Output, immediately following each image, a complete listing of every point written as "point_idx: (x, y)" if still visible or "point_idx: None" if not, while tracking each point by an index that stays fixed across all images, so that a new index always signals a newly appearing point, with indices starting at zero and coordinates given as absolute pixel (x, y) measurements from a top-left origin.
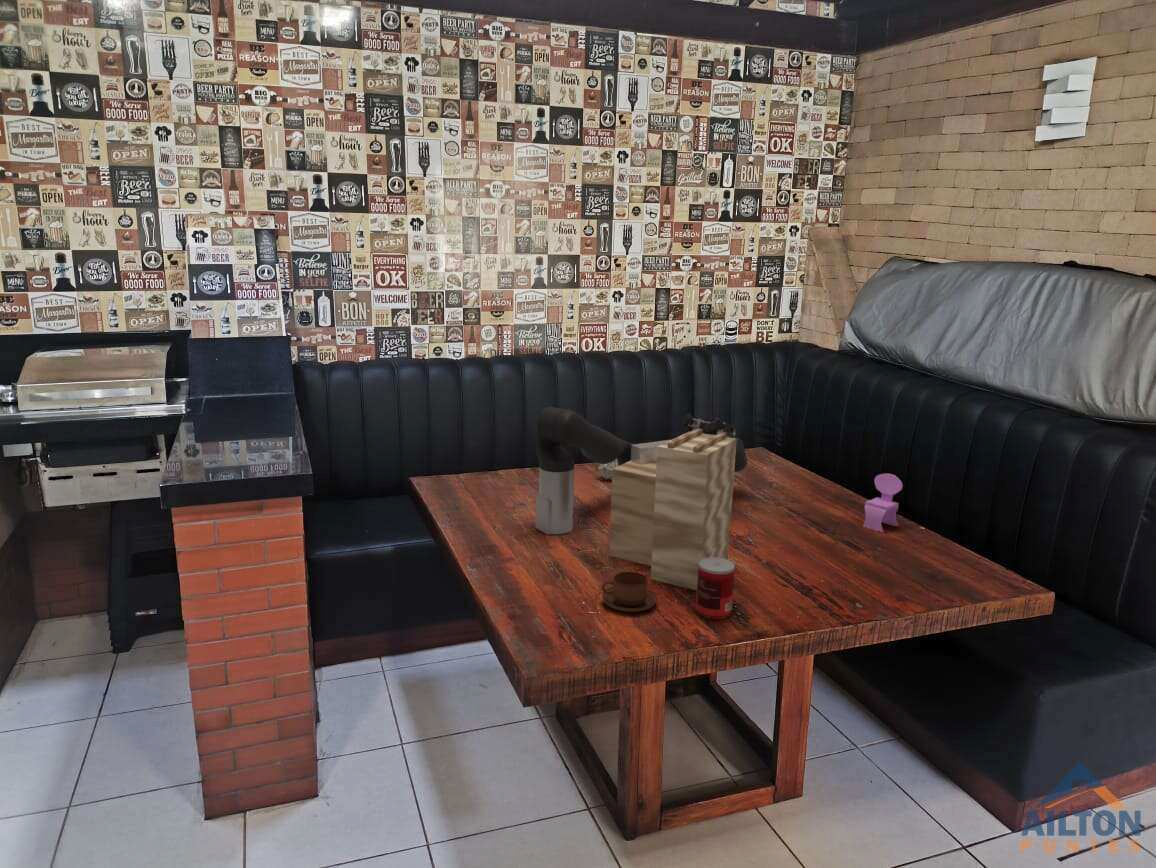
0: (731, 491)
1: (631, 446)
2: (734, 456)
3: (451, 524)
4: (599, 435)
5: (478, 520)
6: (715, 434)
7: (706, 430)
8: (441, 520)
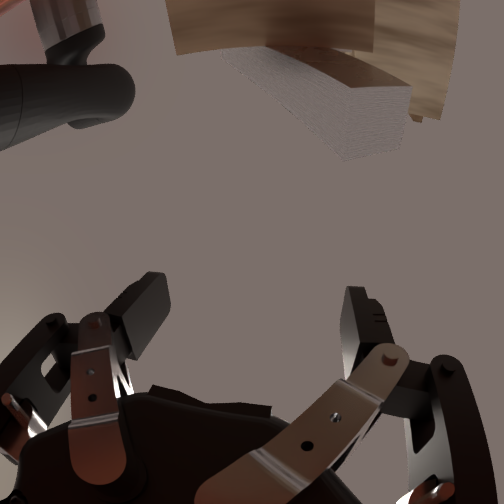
0: (454, 29)
1: (221, 56)
2: (445, 90)
3: (17, 2)
4: (65, 102)
5: (4, 3)
6: (305, 427)
7: (185, 407)
8: (4, 12)
